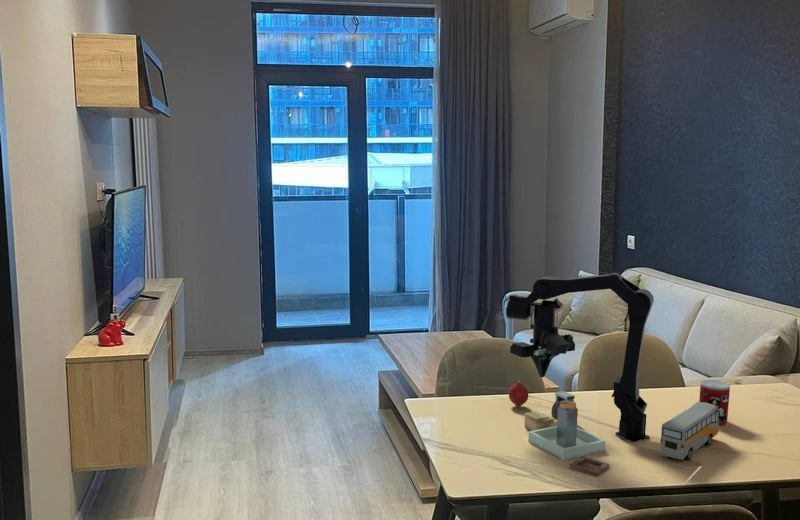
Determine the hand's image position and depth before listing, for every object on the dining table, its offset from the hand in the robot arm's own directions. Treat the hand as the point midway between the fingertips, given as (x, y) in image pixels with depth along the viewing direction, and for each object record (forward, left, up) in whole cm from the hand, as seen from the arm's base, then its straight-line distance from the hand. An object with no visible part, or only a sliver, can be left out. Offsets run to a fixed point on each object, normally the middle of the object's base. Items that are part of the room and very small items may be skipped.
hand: (541, 376), depth 203 cm
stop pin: (+6, +18, -12) cm, 23 cm away
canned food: (-45, +21, -13) cm, 51 cm away
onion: (-2, -13, -13) cm, 19 cm away
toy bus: (-22, +33, -13) cm, 42 cm away
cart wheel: (-5, +4, -13) cm, 15 cm away
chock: (+2, +4, -13) cm, 14 cm away
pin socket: (+10, +31, -13) cm, 35 cm away
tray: (+6, +18, -13) cm, 23 cm away
